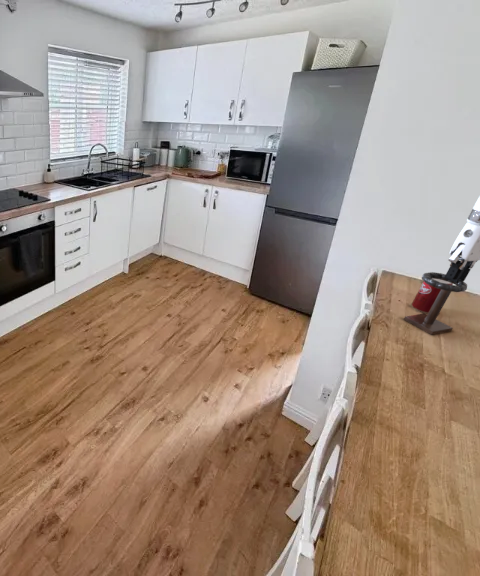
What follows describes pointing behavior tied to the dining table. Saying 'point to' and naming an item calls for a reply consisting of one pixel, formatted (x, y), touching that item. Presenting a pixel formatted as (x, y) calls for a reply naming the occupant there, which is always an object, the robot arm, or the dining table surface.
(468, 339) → the dining table surface
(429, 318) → the post
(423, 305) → the soda can
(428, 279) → the ring
